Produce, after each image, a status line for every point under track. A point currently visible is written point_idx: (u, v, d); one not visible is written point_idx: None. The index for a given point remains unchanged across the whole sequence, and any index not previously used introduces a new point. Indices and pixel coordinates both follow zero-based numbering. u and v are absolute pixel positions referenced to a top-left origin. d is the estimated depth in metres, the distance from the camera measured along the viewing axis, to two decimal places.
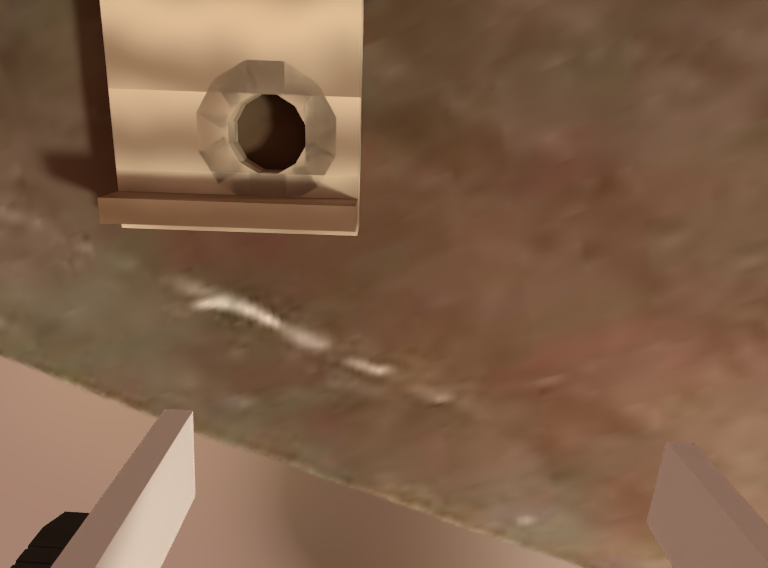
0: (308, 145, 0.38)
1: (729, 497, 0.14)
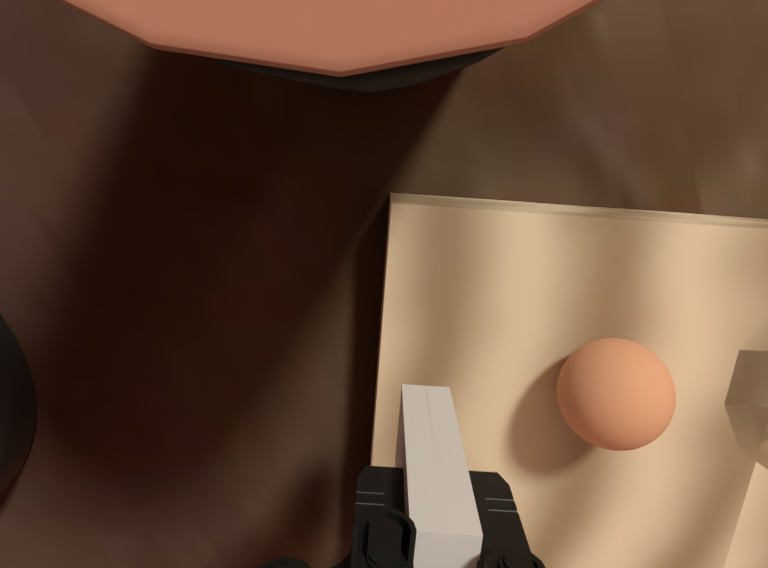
0: None
1: (446, 426, 0.16)
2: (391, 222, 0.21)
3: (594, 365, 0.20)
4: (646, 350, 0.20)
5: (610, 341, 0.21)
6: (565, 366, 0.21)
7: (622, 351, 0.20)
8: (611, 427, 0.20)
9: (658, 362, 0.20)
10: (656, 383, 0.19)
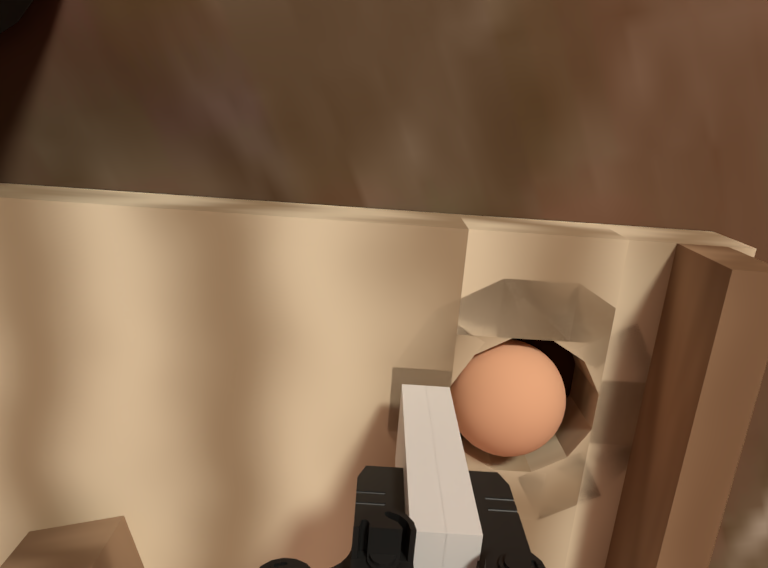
0: (552, 335, 0.19)
1: (446, 426, 0.16)
2: None
3: None
4: (521, 352, 0.19)
5: None
6: None
7: None
8: None
9: (517, 363, 0.19)
10: (491, 374, 0.19)
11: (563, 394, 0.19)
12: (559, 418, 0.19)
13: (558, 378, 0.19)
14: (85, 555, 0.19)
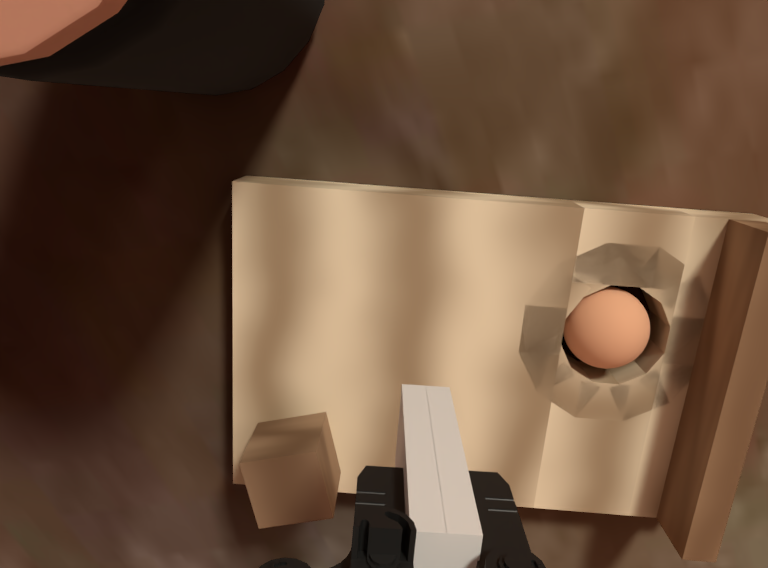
0: (639, 283, 0.27)
1: (446, 426, 0.16)
2: (233, 196, 0.27)
3: None
4: (619, 292, 0.28)
5: None
6: None
7: None
8: (568, 333, 0.28)
9: (618, 298, 0.27)
10: (601, 306, 0.27)
11: (649, 321, 0.28)
12: (647, 337, 0.27)
13: (645, 310, 0.28)
14: (310, 432, 0.28)
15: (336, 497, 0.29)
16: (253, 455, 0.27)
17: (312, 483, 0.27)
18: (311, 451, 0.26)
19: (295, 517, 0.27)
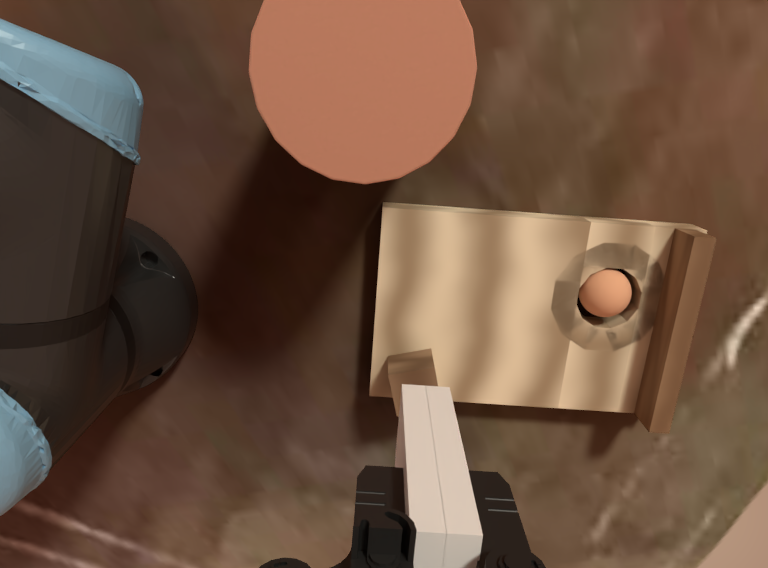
0: (623, 266, 0.46)
1: (446, 426, 0.16)
2: (382, 216, 0.45)
3: None
4: (613, 269, 0.46)
5: None
6: None
7: None
8: (583, 295, 0.46)
9: (613, 273, 0.46)
10: (603, 277, 0.45)
11: (630, 287, 0.46)
12: (630, 296, 0.46)
13: None
14: (426, 358, 0.46)
15: None
16: (395, 371, 0.45)
17: None
18: (431, 367, 0.45)
19: None
